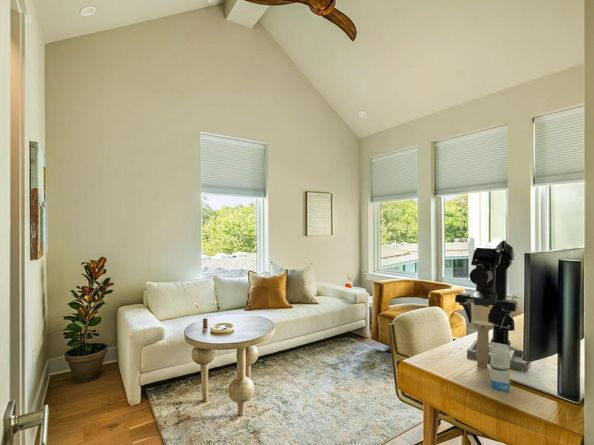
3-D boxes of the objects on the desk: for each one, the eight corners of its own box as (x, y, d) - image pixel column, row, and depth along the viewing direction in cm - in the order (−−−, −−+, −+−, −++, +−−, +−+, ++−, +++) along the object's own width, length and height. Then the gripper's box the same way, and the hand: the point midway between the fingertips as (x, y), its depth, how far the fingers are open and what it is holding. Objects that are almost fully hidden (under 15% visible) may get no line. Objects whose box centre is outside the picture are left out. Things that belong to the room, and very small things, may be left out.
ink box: (509, 393, 99) (510, 353, 99) (490, 388, 102) (491, 350, 101) (507, 381, 107) (508, 344, 106) (489, 377, 109) (490, 341, 109)
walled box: (475, 346, 136) (475, 339, 136) (529, 358, 125) (529, 351, 125) (467, 356, 125) (467, 349, 125) (524, 371, 114) (525, 363, 114)
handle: (492, 370, 114) (493, 326, 114) (471, 365, 117) (472, 323, 117) (492, 365, 118) (494, 322, 118) (472, 361, 122) (473, 319, 121)
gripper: (451, 280, 119) (450, 324, 119) (513, 288, 107) (512, 337, 107) (459, 277, 128) (458, 318, 128) (518, 284, 116) (516, 329, 116)
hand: (484, 325), depth 119 cm, fingers open, 9 cm apart
